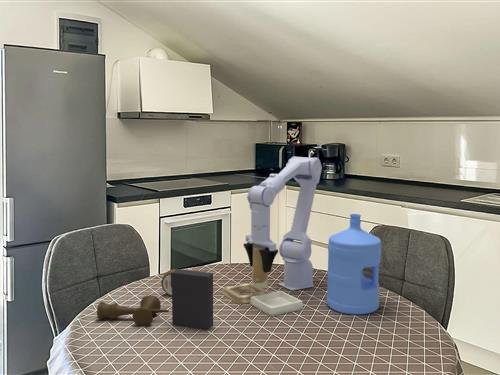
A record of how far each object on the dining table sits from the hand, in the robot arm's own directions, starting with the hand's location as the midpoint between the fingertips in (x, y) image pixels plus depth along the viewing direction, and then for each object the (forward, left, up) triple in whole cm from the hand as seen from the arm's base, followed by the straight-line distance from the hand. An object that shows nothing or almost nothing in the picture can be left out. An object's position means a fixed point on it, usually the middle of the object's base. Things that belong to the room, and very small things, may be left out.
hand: (260, 268), depth 154 cm
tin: (+18, -16, -11) cm, 27 cm away
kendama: (+38, -6, -11) cm, 40 cm away
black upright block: (+26, +7, -11) cm, 29 cm away
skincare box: (0, 0, -5) cm, 5 cm away
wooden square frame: (+2, -6, -10) cm, 12 cm away
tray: (-1, +7, -10) cm, 12 cm away
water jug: (-22, +18, -11) cm, 30 cm away
